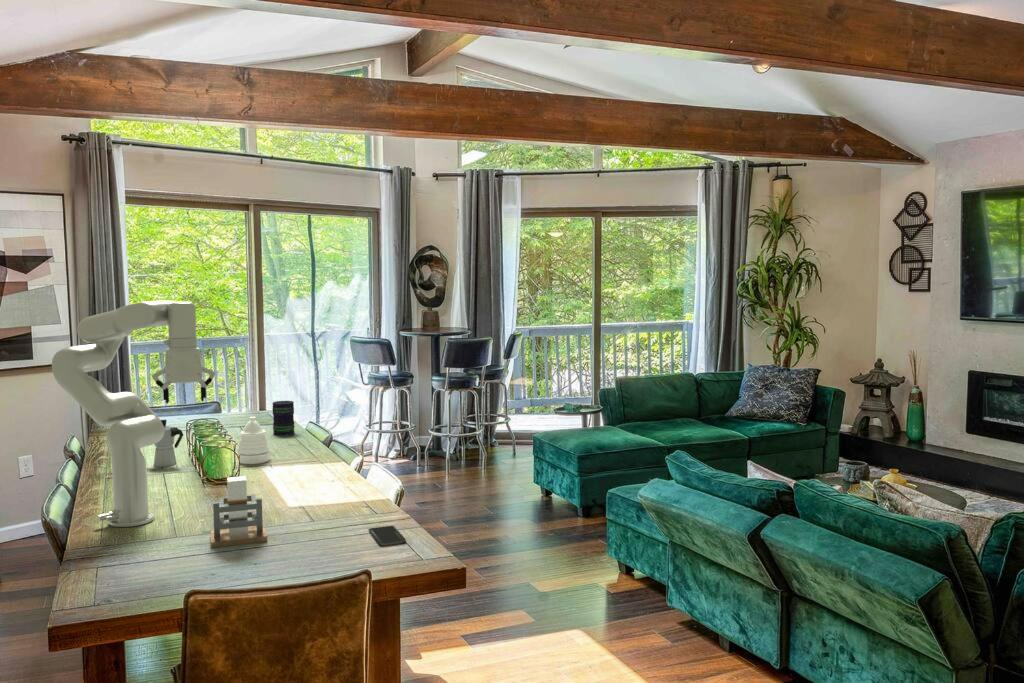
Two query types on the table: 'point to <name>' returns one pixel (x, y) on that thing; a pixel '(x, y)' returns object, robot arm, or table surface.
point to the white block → (237, 496)
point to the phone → (387, 536)
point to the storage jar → (283, 418)
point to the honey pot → (253, 444)
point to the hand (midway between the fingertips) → (185, 401)
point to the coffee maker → (167, 446)
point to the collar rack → (238, 523)
